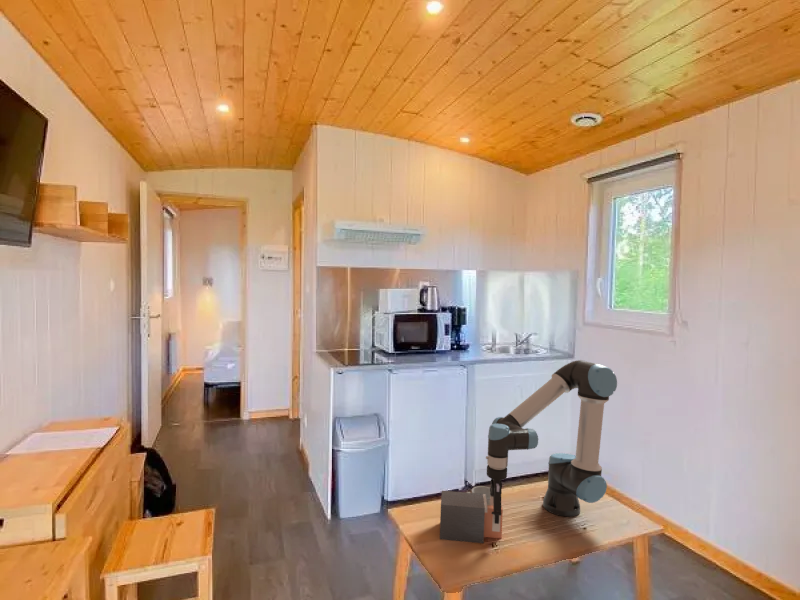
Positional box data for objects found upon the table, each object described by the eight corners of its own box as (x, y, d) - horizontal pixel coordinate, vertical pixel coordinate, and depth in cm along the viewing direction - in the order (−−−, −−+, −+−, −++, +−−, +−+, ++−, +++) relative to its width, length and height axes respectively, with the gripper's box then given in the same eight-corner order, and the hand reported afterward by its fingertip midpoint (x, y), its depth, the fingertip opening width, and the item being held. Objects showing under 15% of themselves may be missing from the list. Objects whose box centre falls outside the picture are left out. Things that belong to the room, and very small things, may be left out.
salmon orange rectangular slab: (501, 534, 176) (502, 506, 176) (501, 538, 174) (502, 509, 173) (469, 532, 177) (470, 503, 177) (469, 535, 175) (470, 506, 175)
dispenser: (484, 526, 181) (485, 494, 181) (486, 543, 170) (487, 508, 169) (440, 522, 183) (441, 490, 183) (439, 539, 172) (440, 504, 171)
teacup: (495, 505, 200) (495, 486, 200) (498, 517, 189) (498, 498, 189) (462, 502, 202) (463, 484, 201) (463, 514, 191) (464, 495, 191)
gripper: (485, 453, 187) (482, 505, 188) (489, 478, 162) (486, 538, 163) (503, 455, 186) (501, 507, 187) (511, 480, 161) (508, 540, 162)
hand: (494, 521), depth 175 cm, fingers open, 13 cm apart
